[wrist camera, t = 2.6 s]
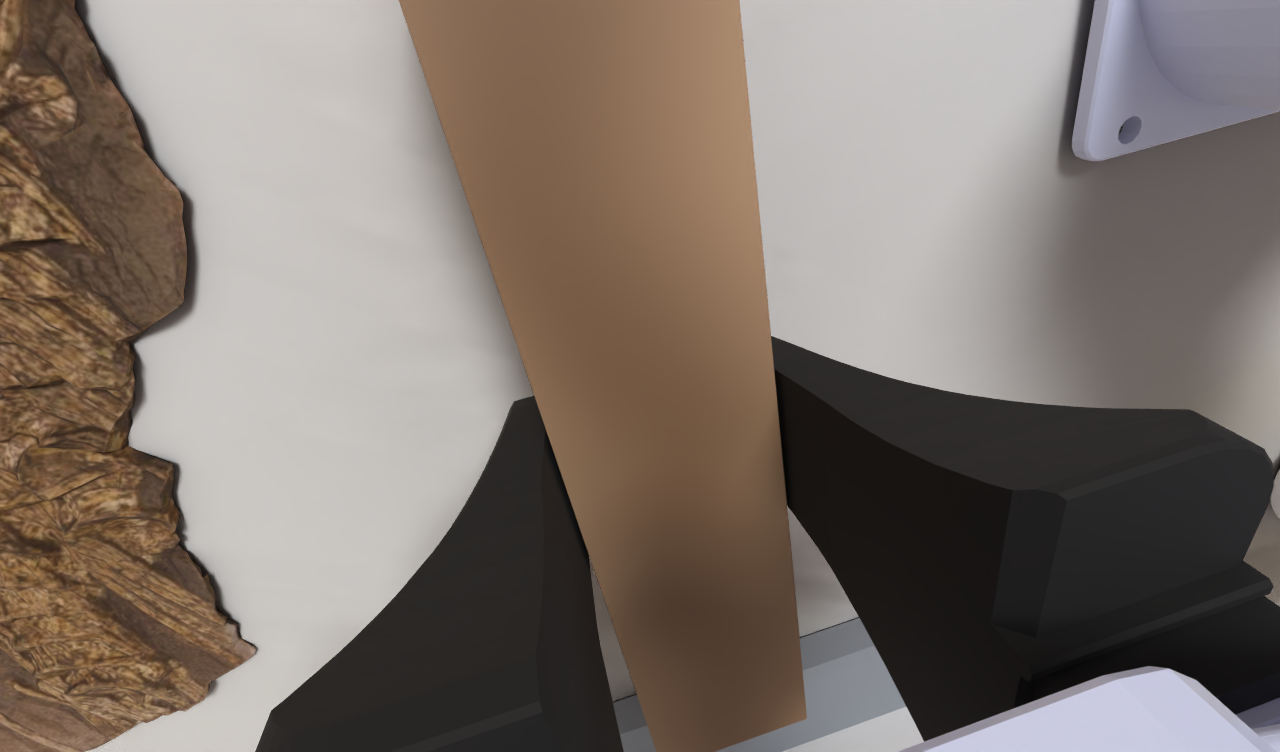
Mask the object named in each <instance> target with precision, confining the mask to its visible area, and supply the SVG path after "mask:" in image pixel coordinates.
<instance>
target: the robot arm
mask: <svg viewBox="0 0 1280 752" xmlns="http://www.w3.org/2000/svg"><path fill="white" fill-rule="evenodd" d="M1277 112H1280V0H1095V3H1094V9H1093V15H1092V21H1091V27H1090V34H1089V40H1088V46H1087V52H1086V58H1085V64H1084V70H1083V76H1082V82H1081V88H1080V94H1079V100H1078V106H1077V112H1076V118H1075V124H1074V131H1073V137H1072V150H1073V152H1074V154H1075V156H1077V157H1078V158H1080V159H1083V160H1089V161H1103V160H1107V159H1110V158H1114V157H1118V156H1121V155H1125V154H1128V153H1132V152H1136V151H1139V150H1143V149H1147V148H1150V147H1154V146H1157V145H1161V144H1165V143H1168V142H1172V141H1175V140H1179V139H1183V138H1186V137H1190V136H1193V135H1197V134H1201V133H1204V132H1208V131H1212V130H1215V129H1219V128H1222V127H1226V126H1230V125H1233V124H1237V123H1240V122H1244V121H1248V120H1251V119H1255V118H1258V117H1262V116H1266V115H1269V114H1273V113H1277ZM1123 123H1124V126H1123V128H1122V131H1121V133H1120V134H1119V135H1118V133H1119V130H1120V128H1121V126H1122V125H1123ZM771 342H772V353H773V363H774V374H775V384H776V395H777V406H778V416H779V427H780V437H781V448H782V458H783V469H784V480H785V490H786V501H787V505H788V507H789V508H790V510H791V511H792V512H793V514H794V515H795V516H796V518H797V519H798V521H799V522H800V523H801V525H802V526H803V528H804V529H805V530H806V532H807V533H808V535H809V536H810V537H811V539H812V540H813V541H814V543H815V544H816V546H817V547H818V548H819V550H820V551H821V553H822V555H823V556H824V558H825V559H826V561H827V562H828V564H829V565H830V567H831V568H832V570H833V572H834V574H835V575H836V577H837V579H838V581H839V582H840V584H841V586H842V588H843V589H844V591H845V593H846V595H847V596H848V598H849V600H850V602H851V604H852V605H853V607H854V609H855V611H856V612H857V614H858V616H859V618H860V620H861V622H862V623H863V625H864V627H865V629H866V631H867V633H868V634H869V636H870V638H871V640H872V642H873V644H874V646H875V647H876V649H877V651H878V653H879V655H880V657H881V658H882V660H883V662H884V664H885V666H886V668H887V670H888V672H889V674H890V676H891V678H892V680H893V682H894V683H895V685H896V687H897V689H898V691H899V693H900V695H901V697H902V699H903V701H904V703H905V705H906V707H907V709H908V711H909V713H910V715H911V716H912V718H913V720H914V722H915V724H916V726H917V728H918V730H919V732H920V735H921V737H922V739H923V741H924V742H922V743H919V744H917V745H914V746H911V747H909V748H906V749H903V750H900V751H898V752H1280V607H1279V606H1278V605H1276V604H1275V603H1273V602H1272V601H1270V600H1269V599H1268V598H1266V597H1265V595H1268V594H1270V592H1271V590H1272V588H1273V585H1272V583H1271V581H1270V579H1269V578H1268V577H1266V576H1265V575H1263V574H1262V573H1260V572H1259V571H1257V570H1256V569H1254V568H1253V567H1251V566H1250V565H1248V564H1247V563H1245V562H1244V561H1243V558H1244V556H1245V554H1246V552H1247V550H1248V548H1249V545H1250V543H1251V541H1252V539H1253V537H1254V535H1255V532H1256V530H1257V528H1258V526H1259V524H1260V522H1261V519H1262V517H1263V515H1264V513H1265V511H1266V508H1267V506H1268V503H1269V500H1270V497H1271V494H1272V491H1273V488H1274V479H1273V465H1272V461H1271V460H1270V458H1269V456H1268V455H1267V453H1266V451H1265V449H1264V448H1262V447H1260V446H1258V445H1256V444H1254V443H1252V442H1250V441H1249V440H1247V439H1245V438H1243V437H1241V436H1239V435H1237V434H1235V433H1234V432H1232V431H1230V430H1228V429H1226V428H1224V427H1222V426H1221V425H1219V424H1217V423H1215V422H1213V421H1211V420H1209V419H1207V418H1206V417H1204V416H1202V415H1200V414H1198V413H1196V412H1194V411H1191V410H1180V409H1111V408H1086V407H1071V406H1057V405H1043V404H1033V403H1024V402H1014V401H1006V400H999V399H992V398H985V397H978V396H971V395H965V394H960V393H954V392H948V391H943V390H939V389H934V388H930V387H925V386H921V385H916V384H912V383H908V382H904V381H900V380H896V379H892V378H889V377H885V376H882V375H879V374H875V373H872V372H869V371H866V370H862V369H859V368H856V367H853V366H850V365H847V364H844V363H841V362H838V361H836V360H833V359H830V358H827V357H825V356H822V355H819V354H817V353H814V352H811V351H809V350H806V349H804V348H801V347H798V346H796V345H793V344H791V343H788V342H786V341H783V340H780V339H778V338H775V337H772V336H771ZM255 752H624V750H623V746H622V742H621V737H620V733H619V728H618V724H617V719H616V715H615V711H614V706H613V702H612V697H611V693H610V688H609V684H608V679H607V675H606V670H605V665H604V661H603V656H602V652H601V647H600V641H599V635H598V629H597V623H596V615H595V606H594V598H593V589H592V580H591V572H590V563H589V555H588V551H587V548H586V545H585V542H584V539H583V536H582V533H581V530H580V527H579V524H578V521H577V519H576V516H575V513H574V510H573V507H572V504H571V501H570V498H569V495H568V492H567V489H566V486H565V484H564V481H563V478H562V475H561V472H560V469H559V466H558V463H557V460H556V457H555V454H554V451H553V449H552V446H551V443H550V440H549V437H548V434H547V431H546V428H545V425H544V422H543V419H542V416H541V414H540V411H539V408H538V405H537V402H536V399H535V396H532V397H528V398H525V399H521V400H518V401H514V403H513V405H512V406H511V408H510V410H509V413H508V416H507V419H506V421H505V424H504V426H503V429H502V431H501V434H500V436H499V439H498V441H497V443H496V446H495V448H494V450H493V452H492V454H491V456H490V458H489V461H488V463H487V465H486V467H485V469H484V471H483V473H482V475H481V477H480V479H479V481H478V482H477V484H476V486H475V488H474V490H473V491H472V493H471V495H470V497H469V499H468V500H467V502H466V504H465V506H464V507H463V509H462V511H461V512H460V514H459V515H458V517H457V519H456V520H455V522H454V523H453V525H452V526H451V528H450V529H449V531H448V532H447V534H446V535H445V536H444V538H443V539H442V541H441V542H440V543H439V545H438V546H437V547H436V549H435V550H434V551H433V553H432V554H431V555H430V556H429V557H428V558H427V560H426V561H425V562H424V563H423V564H422V566H421V567H420V568H419V569H418V570H417V572H416V573H415V574H414V575H413V576H412V578H411V579H410V580H409V581H408V582H407V584H406V585H405V586H404V587H403V588H402V590H401V591H400V592H399V593H398V594H397V595H396V596H395V597H394V598H393V599H392V600H391V602H390V603H389V604H388V605H387V606H386V607H385V608H384V609H383V610H382V611H381V612H380V613H379V614H378V615H377V616H376V617H375V618H374V619H373V620H372V621H371V622H370V623H369V624H368V625H367V626H366V627H365V628H364V629H363V630H362V631H361V632H360V633H359V634H358V635H357V636H356V637H355V638H354V639H353V640H352V641H351V642H350V643H349V644H348V645H347V646H345V647H344V648H343V649H342V650H341V651H340V652H339V653H338V654H337V655H336V656H335V657H333V658H332V659H331V660H330V661H329V662H328V663H327V664H325V665H324V666H323V667H322V668H321V669H320V670H319V671H317V672H316V673H315V674H314V675H313V676H312V677H310V678H309V679H308V680H307V681H306V682H305V683H304V684H302V685H301V686H300V687H299V688H298V689H297V690H295V691H294V692H293V693H292V694H291V695H290V696H289V697H287V698H286V699H285V700H284V701H283V702H281V703H280V704H279V705H278V706H276V707H275V708H274V709H273V710H271V713H270V715H269V718H268V720H267V723H266V726H265V728H264V731H263V733H262V736H261V738H260V741H259V744H258V746H257V749H256V751H255Z"/></svg>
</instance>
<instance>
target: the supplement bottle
mask: <svg viewBox="0 0 1280 752" xmlns="http://www.w3.org/2000/svg"><path fill="white" fill-rule="evenodd" d="M1271 505H1272V509H1273V511H1274V512H1275V514H1276V516H1277V517H1278V518H1279V519H1280V469H1279V471H1278V473H1277V475H1276V477H1275V479H1274V488H1273V491H1272V494H1271Z"/></svg>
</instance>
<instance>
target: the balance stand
mask: <svg viewBox="0 0 1280 752" xmlns="http://www.w3.org/2000/svg"><path fill="white" fill-rule="evenodd" d="M800 649H801V659H802V670H803V681H804V691H805V702H806V712H807V719H805V720H802V721H799V722H797V723H794V724H791V725H788V726H785V727H783V728H780V729H777V730H774V731H771V732H769V733H766V734H763V735H760V736H757V737H755V738H752V739H749V740H746V741H743V742H741V743H738V744H735V745H732V746H729V747H727V748H724V749H721V750H718V751H716V752H898V751H900V750H903V749H906V748H909V747H911V746H914V745H917V744H919V743H922V742H924V741H923V739H922V737H921V735H920V732H919V730H918V728H917V726H916V724H915V722H914V720H913V718H912V716H911V715H910V713H909V711H908V709H907V707H906V705H905V703H904V701H903V699H902V697H901V695H900V693H899V691H898V689H897V687H896V685H895V683H894V682H893V680H892V678H891V676H890V674H889V672H888V670H887V668H886V666H885V664H884V662H883V660H882V658H881V657H880V655H879V653H878V651H877V649H876V647H875V646H874V644H873V642H872V640H871V638H870V636H869V634H868V633H867V631H866V629H865V627H864V625H863V623H862V622H861V620H860V618H857V619H854V620H851V621H849V622H846V623H843V624H840V625H837V626H834V627H831V628H828V629H825V630H822V631H820V632H817V633H814V634H811V635H808V636H805V637H802V638H800ZM613 706H614V711H615V715H616V719H617V724H618V728H619V733H620V737H621V742H622V746H623V750H624V752H656V749H655V746H654V743H653V740H652V737H651V734H650V732H649V729H648V726H647V723H646V720H645V717H644V714H643V711H642V708H641V705H640V702H639V699H638V697H637V695H634V696H631V697H628V698H625V699H622V700H620V701H617V702H614V703H613Z"/></svg>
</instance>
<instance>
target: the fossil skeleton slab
mask: <svg viewBox="0 0 1280 752" xmlns="http://www.w3.org/2000/svg"><path fill="white" fill-rule="evenodd" d="M74 5H75V0H0V752H85V751H88V750H92V749H95V748H97V747H99V746H101V745H103V744H105V743H107V742H108V741H110V740H112V739H114V738H116V737H117V736H119V735H120V734H122V733H124V732H125V731H127V730H129V729H131V728H132V727H134V726H135V725H137V724H138V723H139V722H141V721H142V722H145V723H147V722H150V721H153V720H155V719H157V718H159V717H160V716H162V715H170V714H172V713H174V712H176V711H187V710H188V709H190V708H191V707H193V706H194V705H196V704H197V703H199V702H201V701H203V700H204V699H205V697H206V695H207V693H208V691H209V688H210V683H211V681H213V680H215V679H216V678H218V677H220V676H222V675H223V674H225V673H227V672H229V671H230V670H232V669H234V668H236V667H237V666H239V665H240V664H242V663H244V662H245V661H246V660H248V659H249V658H250V657H252V656H253V655H254V653H255V651H256V649H255V648H254V646H253V645H252V644H251V643H249V642H247V641H245V640H243V639H241V637H240V636H239V635H238V631H237V623H235V622H233V621H231V620H229V619H227V616H225V615H223V614H221V613H219V612H218V610H217V609H216V608H215V605H216V598H215V594H214V589H213V587H212V586H211V584H210V582H209V578H208V574H207V575H206V576H205V577H203V578H202V573H201V568H200V567H199V566H197V565H196V564H195V563H194V562H193V561H192V560H191V558H190V556H189V554H188V553H187V552H186V551H184V550H183V549H182V548H181V547H180V546H179V545H178V544H179V542H180V539H179V537H178V536H177V534H176V533H175V530H176V526H177V523H178V520H179V517H180V513H179V511H178V510H177V508H176V506H175V504H174V501H173V496H172V491H173V485H174V473H175V471H174V466H173V463H170V462H167V461H165V460H162V459H159V458H156V457H154V456H151V455H148V454H146V453H143V452H140V451H137V450H135V449H134V448H132V447H129V441H128V433H129V429H130V426H131V423H132V422H131V417H130V413H129V411H130V409H131V408H132V407H133V405H134V397H135V384H136V381H135V377H134V372H133V364H134V360H135V357H136V354H135V353H134V352H133V351H132V350H131V349H130V344H129V343H130V342H132V341H133V340H135V339H136V338H138V337H140V336H141V335H142V334H143V333H144V332H145V331H146V330H147V329H148V328H149V327H150V326H151V325H153V324H154V323H156V322H157V321H159V320H161V319H162V318H164V317H165V316H167V315H168V314H170V313H171V312H173V311H174V310H176V309H177V308H179V307H180V306H181V305H182V303H183V301H184V287H185V281H186V269H187V245H186V238H185V232H184V226H183V220H182V213H183V201H182V198H181V195H180V192H179V190H178V188H177V187H176V185H175V183H174V182H172V181H170V180H169V179H167V178H166V177H165V176H164V175H163V173H162V172H161V171H160V169H159V168H158V167H157V166H156V164H155V163H154V162H153V160H152V159H151V158H150V157H149V155H148V154H147V153H146V151H145V150H144V144H143V140H142V138H141V136H140V133H139V131H138V128H137V126H136V123H135V120H134V117H133V115H132V112H131V109H130V107H129V106H128V104H127V102H126V100H125V99H124V98H123V96H122V95H121V93H120V92H119V91H118V89H117V88H116V86H115V85H114V84H113V82H112V81H111V79H110V78H109V76H108V74H107V72H106V69H105V67H104V65H103V63H102V61H101V59H100V56H99V54H98V52H97V49H96V47H95V44H94V43H93V42H92V41H91V40H90V38H89V36H88V34H87V31H86V29H85V27H84V25H83V22H82V20H81V19H80V17H79V15H78V14H77V12H76V10H75V9H74Z"/></svg>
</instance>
